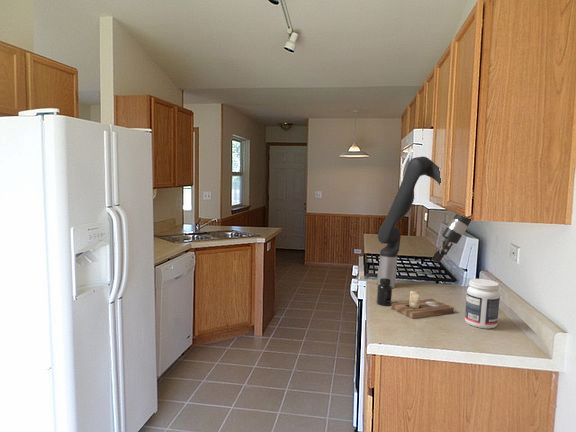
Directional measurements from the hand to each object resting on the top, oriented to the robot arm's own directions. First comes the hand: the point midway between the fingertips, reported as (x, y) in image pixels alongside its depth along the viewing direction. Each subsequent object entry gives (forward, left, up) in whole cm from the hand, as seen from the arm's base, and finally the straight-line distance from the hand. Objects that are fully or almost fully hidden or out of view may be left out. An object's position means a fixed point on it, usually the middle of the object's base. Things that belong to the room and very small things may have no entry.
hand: (435, 261), depth 195 cm
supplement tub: (+21, +8, -23) cm, 32 cm away
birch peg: (-1, -9, -23) cm, 25 cm away
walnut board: (-1, -4, -23) cm, 24 cm away
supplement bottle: (-15, -15, -23) cm, 32 cm away
